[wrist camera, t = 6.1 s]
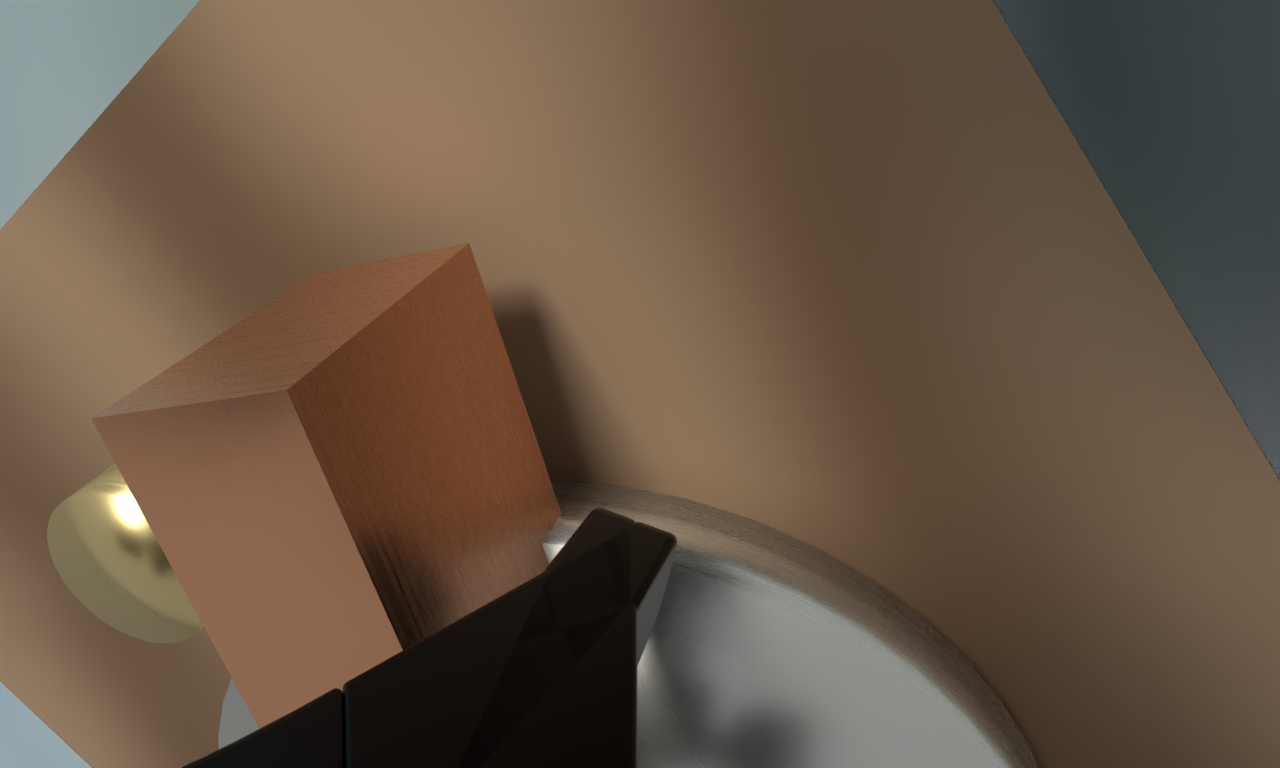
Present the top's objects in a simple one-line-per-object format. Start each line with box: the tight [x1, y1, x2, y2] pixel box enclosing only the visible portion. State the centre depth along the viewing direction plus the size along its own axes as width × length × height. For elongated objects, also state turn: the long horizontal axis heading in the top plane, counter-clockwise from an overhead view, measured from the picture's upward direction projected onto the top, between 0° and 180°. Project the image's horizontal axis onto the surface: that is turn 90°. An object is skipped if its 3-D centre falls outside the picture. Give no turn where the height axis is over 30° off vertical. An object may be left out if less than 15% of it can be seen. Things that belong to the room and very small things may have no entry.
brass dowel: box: [47, 464, 204, 643], centre depth 11 cm, size 2×2×3 cm
